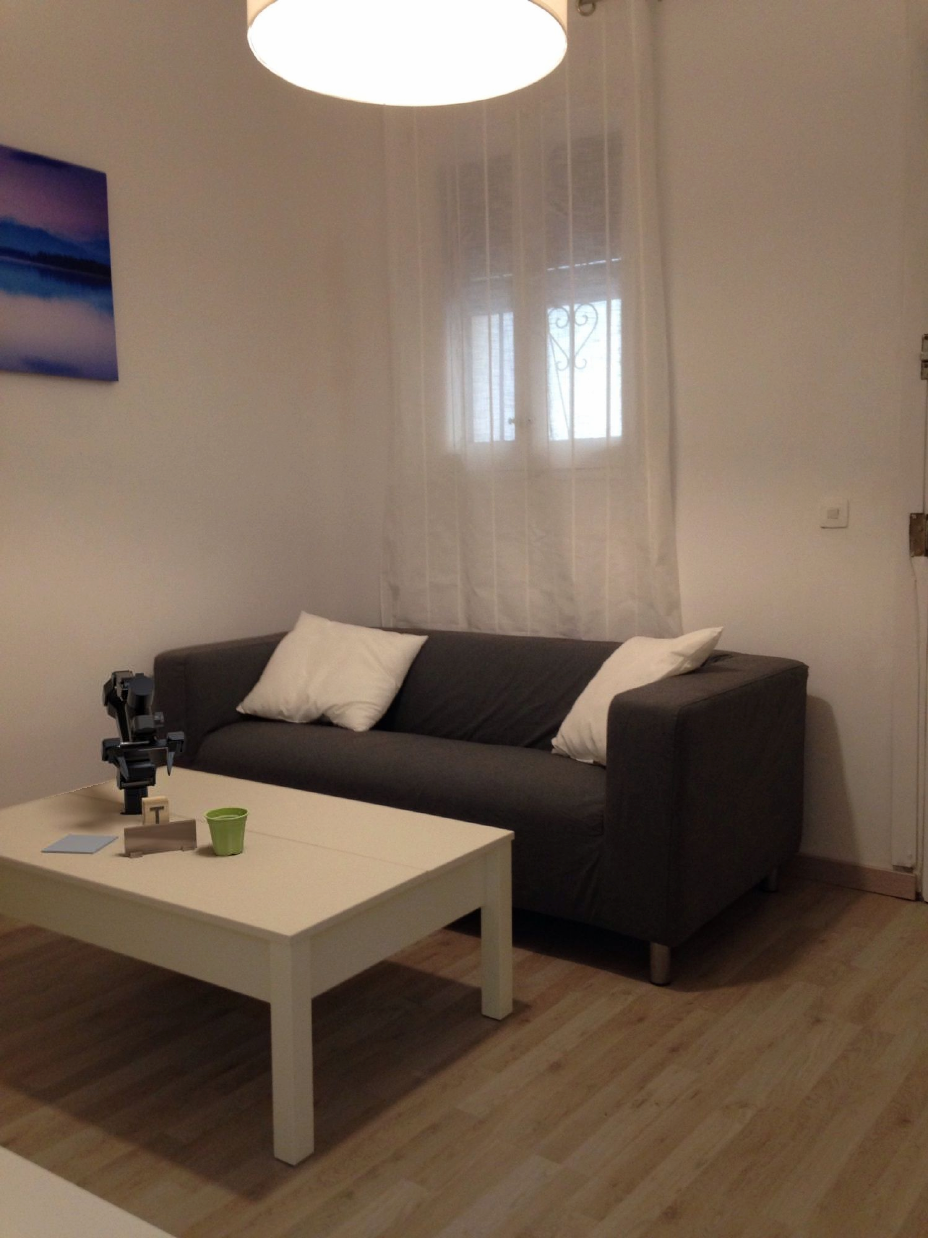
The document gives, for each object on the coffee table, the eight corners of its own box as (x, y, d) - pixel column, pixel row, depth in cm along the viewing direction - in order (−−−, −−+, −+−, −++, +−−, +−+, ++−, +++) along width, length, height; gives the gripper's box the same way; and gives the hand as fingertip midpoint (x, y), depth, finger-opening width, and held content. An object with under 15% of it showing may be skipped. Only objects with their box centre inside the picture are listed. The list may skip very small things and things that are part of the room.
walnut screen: (124, 853, 241) (123, 826, 240) (194, 844, 247) (193, 817, 247) (126, 858, 237) (125, 831, 237) (198, 849, 243) (196, 822, 243)
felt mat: (69, 836, 255) (69, 834, 255) (118, 837, 253) (118, 836, 253) (41, 852, 243) (41, 850, 243) (93, 854, 241) (93, 852, 241)
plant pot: (240, 859, 236) (238, 819, 235) (198, 857, 238) (197, 817, 237) (257, 846, 245) (255, 807, 244) (217, 844, 247) (215, 806, 246)
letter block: (143, 842, 250) (141, 798, 249) (166, 839, 252) (164, 795, 251) (147, 848, 245) (145, 803, 244) (170, 845, 247) (168, 800, 246)
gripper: (99, 704, 253) (107, 762, 245) (183, 697, 261) (193, 753, 252) (97, 732, 261) (105, 789, 253) (178, 724, 269) (189, 779, 260)
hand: (148, 777), depth 254 cm, fingers open, 9 cm apart
